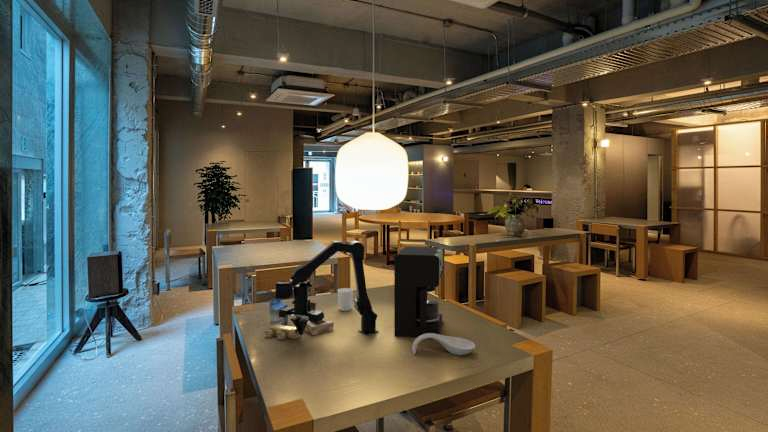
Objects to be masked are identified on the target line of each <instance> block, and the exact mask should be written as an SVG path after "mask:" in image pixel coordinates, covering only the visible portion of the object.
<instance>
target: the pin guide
mask: <svg viewBox="0 0 768 432" xmlns="http://www.w3.org/2000/svg"><path fill="white" fill-rule="evenodd" d="M264 334H265V335H264V337H265V338H266V337H267V338H272V337H274V335H273V330H270V328H268V329H265V330H264ZM277 339H279V340H286V339H287V338H286V332H282V331H279V332H278V336H277Z"/></svg>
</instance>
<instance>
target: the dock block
mask: <svg viewBox="0 0 768 432" xmlns="http://www.w3.org/2000/svg"><path fill="white" fill-rule="evenodd" d="M332 331H334V322H333V321H331V320H330V319H328V318H325V317H324V319H323V323H320V324H316V325H315V324H313V322H310V321H308V322H307V324H306V327H305V330H304V332H306V333H309V334H310V335H312V336H315V335H316V336H317V335H319V334H320V335H321V334H323V333H327V332H332Z"/></svg>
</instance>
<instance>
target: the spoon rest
mask: <svg viewBox="0 0 768 432" xmlns="http://www.w3.org/2000/svg"><path fill="white" fill-rule="evenodd" d="M427 338H432V339H431V340H436V341H437V342H438V343H440V345H442V346H443V348H445V350H446V351H447V352H449V353H450V354H451V355H454V356H465V355H468V354H470V353H471V352H473V351H474V350H475V349H476V344H475V343H474V342H473V341H471V340H469V339H466V338H463V337H458V336H456V337H455V336H450V335H449V336H448V335H445V334H444V335H443V334H441V333H440V334H435V333H426V334H422V335H420V336H419V337H417V338H415V339H414V341H413V343H412V346H411V350H412V355H416V353H417V348H418V345H419V343H421V342H422V341H423V340H427Z"/></svg>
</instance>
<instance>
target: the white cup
mask: <svg viewBox="0 0 768 432" xmlns="http://www.w3.org/2000/svg"><path fill="white" fill-rule="evenodd" d="M353 297H354V289H353V288H351V287H350V288H349V287H343V288H342V287H341V288H338V289H337V302H338V310H339V311H343V312H346V311H347V312H348V311H351V310H353V302H354V299H353Z"/></svg>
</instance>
